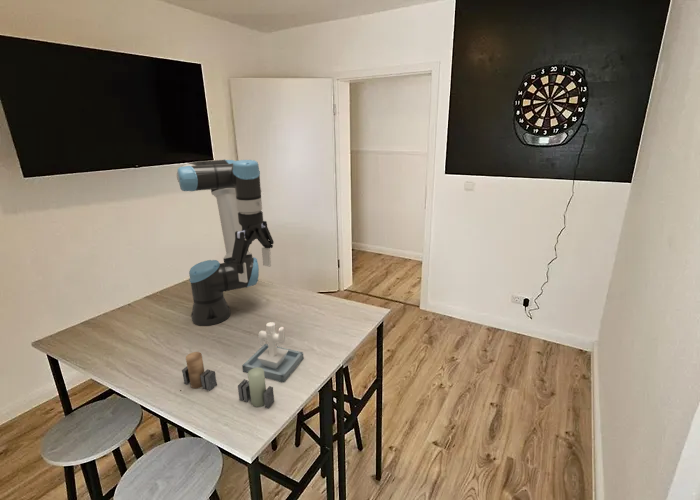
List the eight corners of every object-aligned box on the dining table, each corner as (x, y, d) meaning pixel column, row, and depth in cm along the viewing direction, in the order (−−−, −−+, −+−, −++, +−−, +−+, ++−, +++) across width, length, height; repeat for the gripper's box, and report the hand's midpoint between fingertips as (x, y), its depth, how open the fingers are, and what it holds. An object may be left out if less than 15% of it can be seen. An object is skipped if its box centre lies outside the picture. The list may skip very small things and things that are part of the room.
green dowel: (248, 404, 104) (244, 375, 100) (257, 394, 108) (253, 366, 104) (261, 408, 102) (258, 379, 99) (269, 398, 106) (267, 369, 103)
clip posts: (184, 383, 112) (181, 370, 111) (191, 377, 115) (189, 364, 113) (268, 408, 102) (267, 394, 101) (274, 401, 105) (272, 387, 103)
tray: (243, 371, 118) (242, 365, 117) (265, 349, 129) (265, 343, 128) (283, 382, 112) (283, 375, 112) (303, 358, 124) (303, 352, 123)
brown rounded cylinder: (187, 386, 111) (182, 358, 108) (198, 377, 115) (193, 350, 112) (199, 390, 110) (194, 361, 106) (209, 380, 114) (204, 353, 110)
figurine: (268, 354, 125) (264, 315, 120) (292, 360, 122) (289, 320, 117) (255, 366, 119) (251, 326, 114) (280, 373, 116) (277, 332, 111)
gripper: (235, 223, 102) (242, 291, 109) (281, 203, 123) (284, 261, 131) (213, 220, 104) (221, 287, 112) (262, 201, 126) (266, 258, 133)
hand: (255, 273), depth 121 cm, fingers open, 13 cm apart
